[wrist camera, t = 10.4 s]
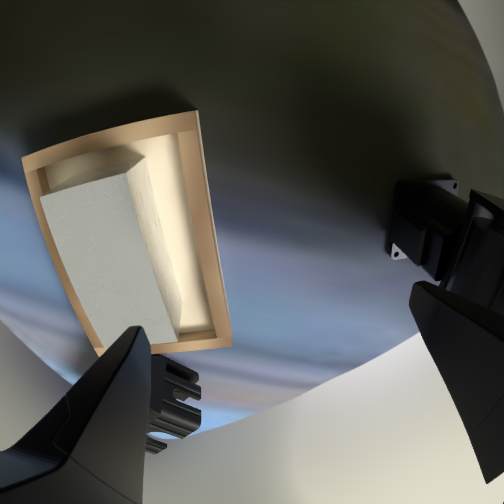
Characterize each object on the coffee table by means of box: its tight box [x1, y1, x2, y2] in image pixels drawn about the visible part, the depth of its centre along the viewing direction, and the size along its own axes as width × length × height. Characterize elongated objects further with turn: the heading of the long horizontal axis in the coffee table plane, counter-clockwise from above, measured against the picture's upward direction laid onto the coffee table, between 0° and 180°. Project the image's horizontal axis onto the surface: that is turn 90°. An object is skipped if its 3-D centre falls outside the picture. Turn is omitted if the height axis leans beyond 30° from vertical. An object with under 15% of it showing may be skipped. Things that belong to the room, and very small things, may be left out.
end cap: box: [145, 355, 201, 454], centre depth 24 cm, size 10×7×7 cm
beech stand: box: [22, 110, 233, 357], centre depth 19 cm, size 11×16×3 cm
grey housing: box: [40, 157, 183, 348], centre depth 16 cm, size 10×5×4 cm, turn 7°
